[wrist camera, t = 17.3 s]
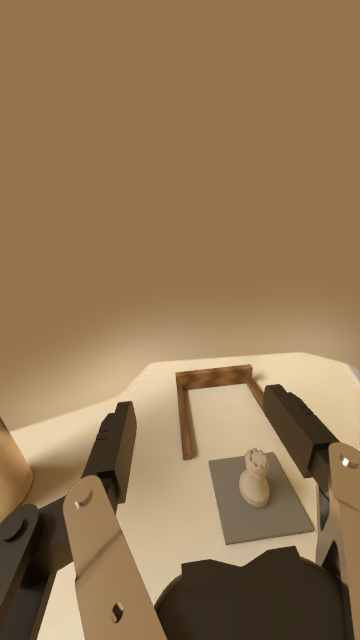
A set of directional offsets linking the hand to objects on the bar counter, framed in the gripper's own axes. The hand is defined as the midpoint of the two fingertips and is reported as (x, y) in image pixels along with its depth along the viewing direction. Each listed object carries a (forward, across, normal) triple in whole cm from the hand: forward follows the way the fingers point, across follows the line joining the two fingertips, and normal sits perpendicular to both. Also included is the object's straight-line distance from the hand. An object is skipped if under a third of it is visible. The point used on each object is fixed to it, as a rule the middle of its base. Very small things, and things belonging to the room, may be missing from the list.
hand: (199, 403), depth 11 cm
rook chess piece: (+8, -9, +28) cm, 30 cm away
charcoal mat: (+8, -9, +28) cm, 31 cm away
